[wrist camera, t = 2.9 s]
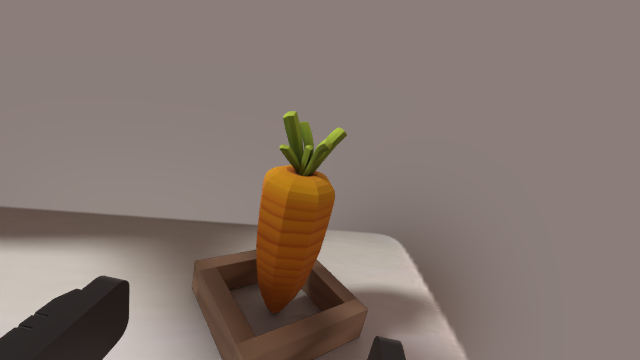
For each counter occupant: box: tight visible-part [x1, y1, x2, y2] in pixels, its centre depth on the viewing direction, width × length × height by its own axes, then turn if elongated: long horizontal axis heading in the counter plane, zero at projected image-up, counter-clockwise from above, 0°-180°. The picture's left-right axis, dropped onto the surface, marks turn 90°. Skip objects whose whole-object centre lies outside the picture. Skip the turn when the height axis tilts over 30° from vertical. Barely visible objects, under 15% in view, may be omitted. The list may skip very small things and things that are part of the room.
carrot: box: [256, 111, 347, 313], centre depth 20 cm, size 5×5×15 cm
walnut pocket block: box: [192, 250, 368, 360], centre depth 22 cm, size 9×9×2 cm
